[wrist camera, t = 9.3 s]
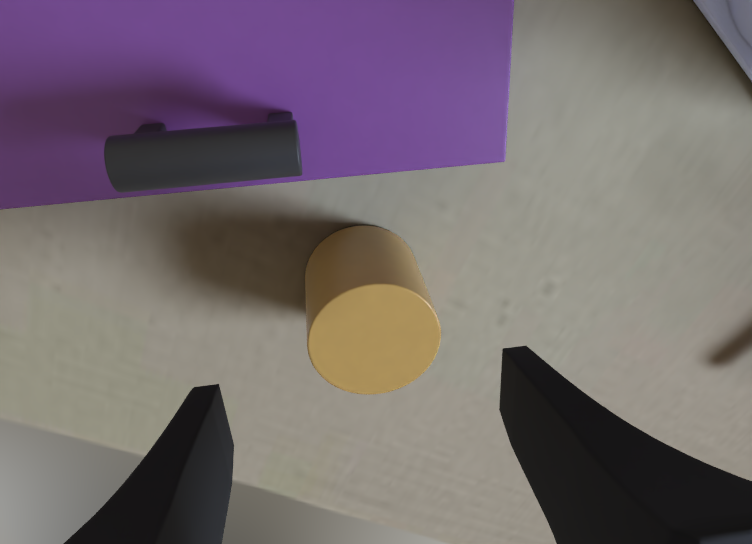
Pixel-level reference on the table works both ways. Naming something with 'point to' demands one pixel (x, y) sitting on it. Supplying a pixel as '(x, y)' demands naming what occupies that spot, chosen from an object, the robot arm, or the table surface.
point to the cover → (243, 92)
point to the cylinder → (368, 312)
